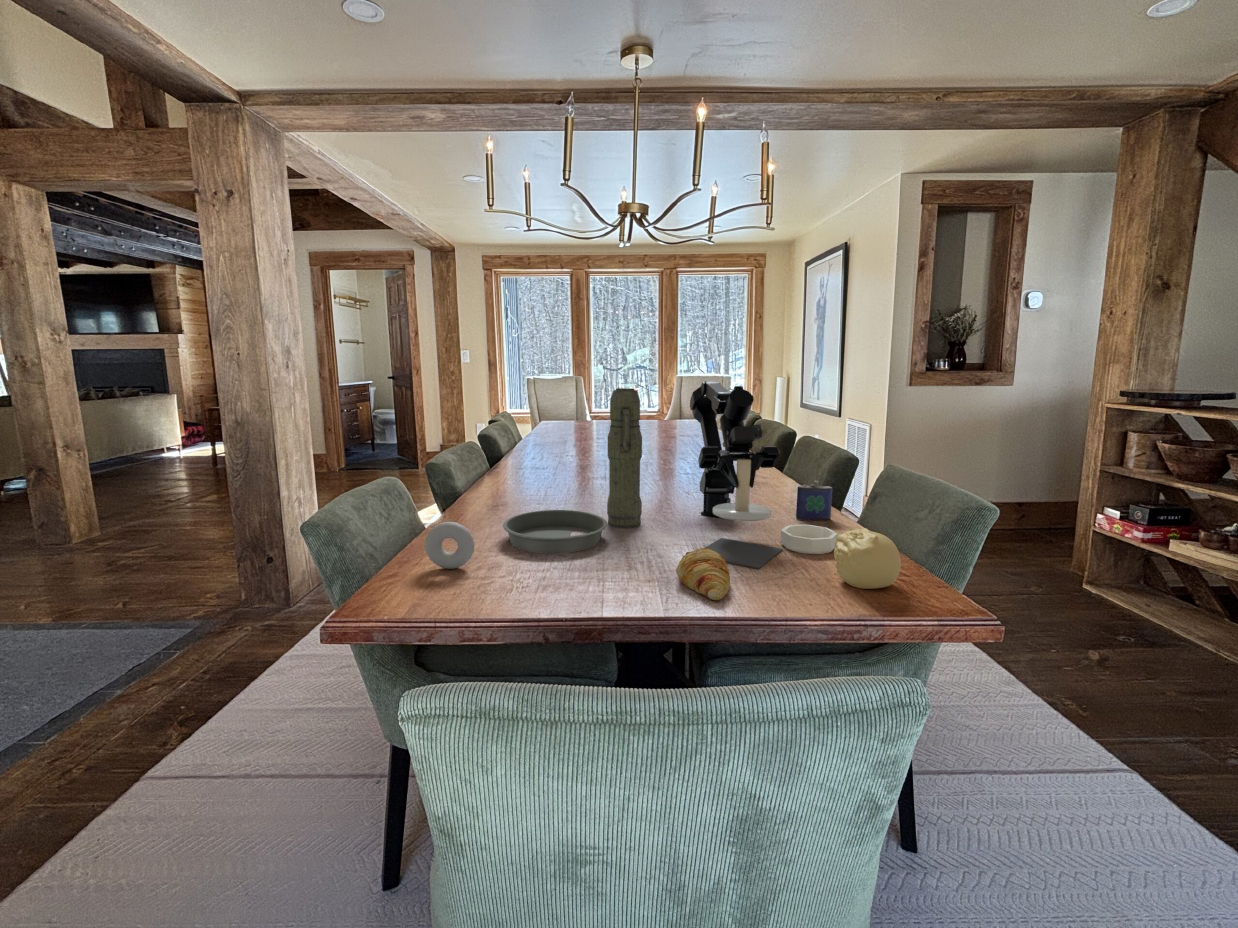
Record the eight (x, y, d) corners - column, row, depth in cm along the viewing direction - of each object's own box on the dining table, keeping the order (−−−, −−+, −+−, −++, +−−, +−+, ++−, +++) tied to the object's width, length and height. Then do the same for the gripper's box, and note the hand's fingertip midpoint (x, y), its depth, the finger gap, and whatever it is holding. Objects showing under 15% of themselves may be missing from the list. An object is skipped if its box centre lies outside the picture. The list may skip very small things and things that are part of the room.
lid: (704, 515, 143) (705, 461, 141) (724, 503, 155) (726, 453, 153) (761, 524, 137) (764, 467, 134) (778, 510, 148) (781, 458, 146)
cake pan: (542, 564, 131) (541, 544, 130) (484, 538, 149) (483, 520, 148) (628, 542, 147) (628, 523, 146) (566, 520, 165) (566, 504, 164)
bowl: (775, 548, 141) (775, 533, 140) (791, 536, 151) (792, 522, 150) (826, 558, 135) (827, 542, 134) (840, 544, 144) (841, 529, 144)
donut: (424, 571, 126) (421, 524, 124) (428, 565, 129) (426, 519, 127) (473, 571, 126) (471, 523, 124) (476, 565, 129) (475, 519, 127)
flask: (829, 518, 168) (831, 479, 166) (832, 521, 165) (834, 481, 163) (794, 517, 168) (796, 479, 166) (797, 520, 165) (799, 481, 163)
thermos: (636, 516, 168) (637, 387, 162) (645, 528, 157) (647, 390, 151) (604, 517, 167) (604, 387, 161) (610, 530, 155) (611, 390, 149)
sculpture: (824, 572, 126) (828, 521, 124) (884, 573, 126) (888, 522, 124) (842, 594, 115) (847, 538, 113) (908, 595, 114) (913, 539, 112)
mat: (693, 556, 136) (693, 554, 136) (721, 539, 148) (721, 537, 148) (758, 569, 128) (758, 567, 128) (782, 550, 140) (782, 548, 140)
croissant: (733, 622, 111) (755, 584, 110) (686, 600, 109) (708, 561, 108) (700, 577, 131) (718, 545, 131) (660, 558, 129) (678, 525, 128)
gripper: (702, 412, 145) (711, 467, 136) (780, 412, 146) (794, 467, 137) (694, 441, 154) (702, 494, 145) (767, 440, 155) (780, 493, 147)
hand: (744, 486), depth 143 cm, fingers closed on lid, 3 cm apart
